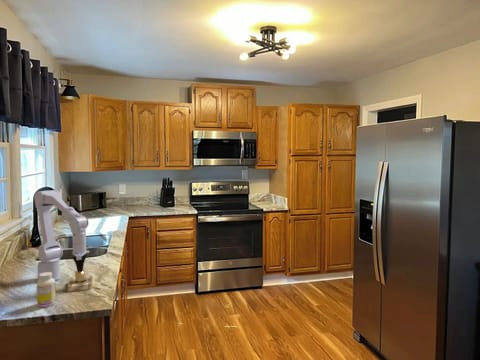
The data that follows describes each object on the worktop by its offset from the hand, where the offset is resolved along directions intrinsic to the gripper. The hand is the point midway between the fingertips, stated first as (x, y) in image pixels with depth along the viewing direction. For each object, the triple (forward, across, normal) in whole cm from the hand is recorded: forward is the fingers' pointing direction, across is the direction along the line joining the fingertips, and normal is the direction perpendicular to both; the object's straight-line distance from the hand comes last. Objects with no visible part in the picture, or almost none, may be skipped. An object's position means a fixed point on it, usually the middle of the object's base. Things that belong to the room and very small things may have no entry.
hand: (80, 271), depth 167 cm
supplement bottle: (+7, -18, +12) cm, 22 cm away
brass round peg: (+7, 0, 0) cm, 7 cm away
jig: (+7, 0, 0) cm, 7 cm away
